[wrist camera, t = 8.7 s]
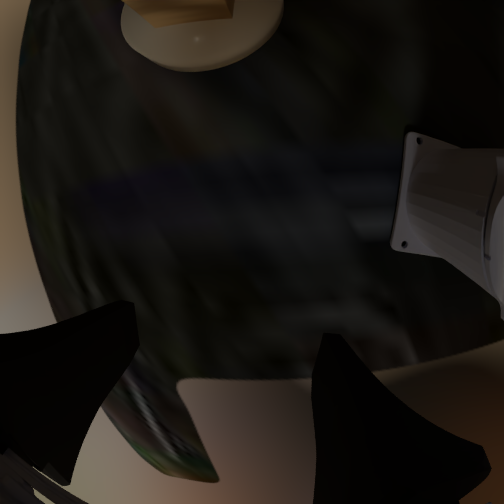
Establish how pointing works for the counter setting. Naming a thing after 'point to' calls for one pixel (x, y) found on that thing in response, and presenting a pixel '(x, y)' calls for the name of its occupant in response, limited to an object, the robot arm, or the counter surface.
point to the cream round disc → (204, 36)
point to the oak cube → (181, 10)
